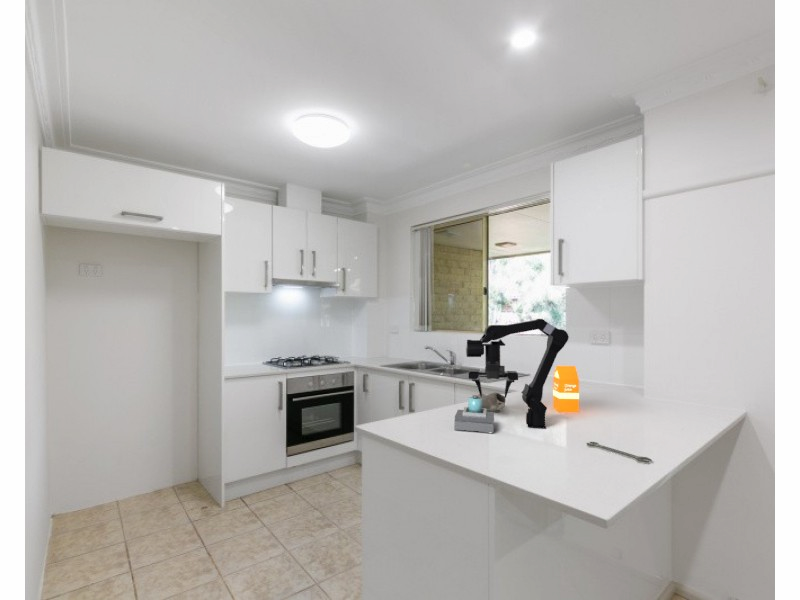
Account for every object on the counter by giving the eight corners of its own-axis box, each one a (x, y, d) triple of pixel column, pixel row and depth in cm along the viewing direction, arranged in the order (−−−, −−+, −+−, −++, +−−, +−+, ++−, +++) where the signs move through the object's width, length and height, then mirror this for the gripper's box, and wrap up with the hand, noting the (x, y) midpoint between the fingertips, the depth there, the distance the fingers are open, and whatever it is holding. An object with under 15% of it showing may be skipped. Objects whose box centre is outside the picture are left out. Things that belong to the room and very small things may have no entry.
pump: (481, 413, 158) (482, 394, 159) (481, 416, 154) (481, 397, 154) (468, 412, 160) (469, 394, 160) (467, 415, 155) (468, 396, 155)
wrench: (654, 463, 123) (592, 444, 140) (654, 457, 123) (592, 439, 140) (646, 467, 120) (583, 448, 137) (646, 462, 120) (583, 443, 137)
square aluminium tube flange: (493, 424, 161) (494, 407, 161) (493, 434, 149) (493, 415, 149) (457, 421, 164) (458, 405, 164) (454, 430, 152) (454, 412, 152)
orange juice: (579, 412, 182) (579, 367, 183) (559, 412, 182) (559, 366, 183) (571, 408, 190) (572, 364, 190) (552, 408, 190) (553, 364, 191)
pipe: (483, 430, 181) (512, 416, 175) (471, 417, 178) (501, 402, 173) (479, 404, 195) (507, 390, 190) (469, 392, 192) (496, 377, 187)
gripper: (467, 359, 156) (467, 400, 155) (518, 360, 152) (519, 402, 151) (469, 355, 167) (469, 394, 166) (517, 356, 163) (517, 396, 162)
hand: (493, 397), depth 161 cm, fingers open, 9 cm apart
